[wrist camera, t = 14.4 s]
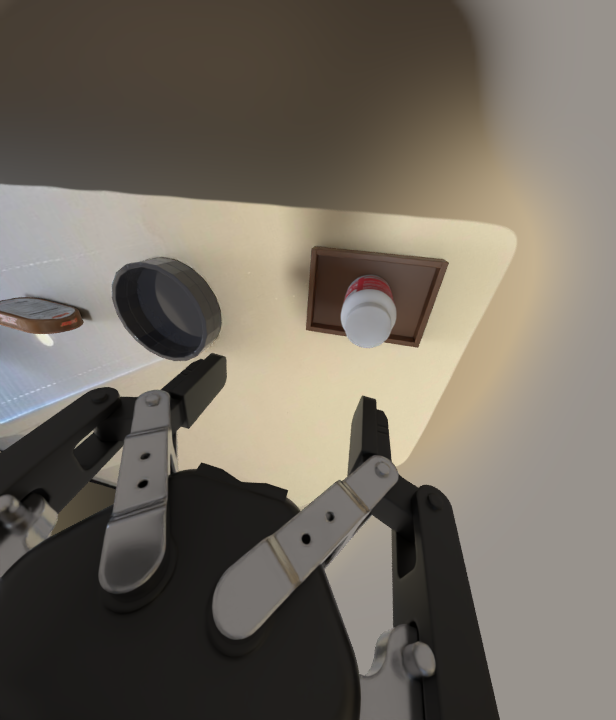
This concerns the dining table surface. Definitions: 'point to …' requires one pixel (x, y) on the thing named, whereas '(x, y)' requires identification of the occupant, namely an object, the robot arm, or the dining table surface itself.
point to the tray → (402, 273)
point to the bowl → (166, 308)
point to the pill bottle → (368, 311)
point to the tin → (38, 315)
